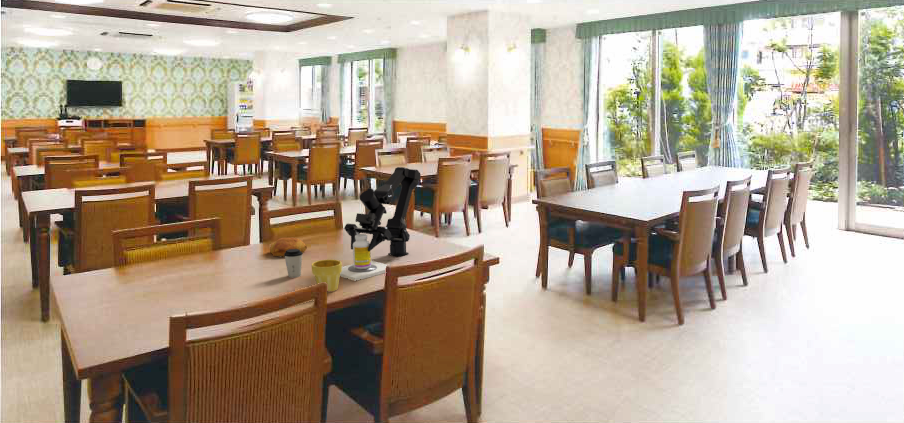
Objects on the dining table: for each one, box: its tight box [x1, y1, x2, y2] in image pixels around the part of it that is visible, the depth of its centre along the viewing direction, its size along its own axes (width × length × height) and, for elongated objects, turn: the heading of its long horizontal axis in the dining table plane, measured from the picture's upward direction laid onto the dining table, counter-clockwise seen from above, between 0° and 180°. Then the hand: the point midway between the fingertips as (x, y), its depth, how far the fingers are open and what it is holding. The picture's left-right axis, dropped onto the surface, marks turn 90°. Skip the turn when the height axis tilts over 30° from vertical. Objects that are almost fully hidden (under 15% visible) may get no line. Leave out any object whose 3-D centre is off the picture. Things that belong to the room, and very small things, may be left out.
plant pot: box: [311, 259, 343, 292], centre depth 221 cm, size 10×10×10 cm
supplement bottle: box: [352, 233, 372, 269], centre depth 243 cm, size 7×7×13 cm
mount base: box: [340, 260, 388, 282], centre depth 245 cm, size 20×16×2 cm
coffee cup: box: [284, 249, 304, 279], centre depth 239 cm, size 7×7×10 cm
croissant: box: [269, 237, 308, 257], centre depth 273 cm, size 14×16×8 cm
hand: (359, 249), depth 242 cm, fingers open, 7 cm apart
